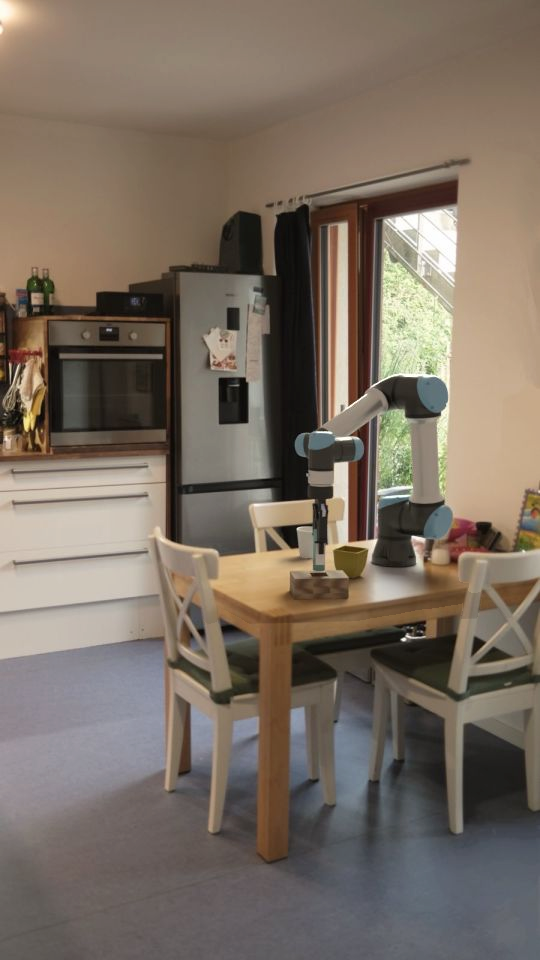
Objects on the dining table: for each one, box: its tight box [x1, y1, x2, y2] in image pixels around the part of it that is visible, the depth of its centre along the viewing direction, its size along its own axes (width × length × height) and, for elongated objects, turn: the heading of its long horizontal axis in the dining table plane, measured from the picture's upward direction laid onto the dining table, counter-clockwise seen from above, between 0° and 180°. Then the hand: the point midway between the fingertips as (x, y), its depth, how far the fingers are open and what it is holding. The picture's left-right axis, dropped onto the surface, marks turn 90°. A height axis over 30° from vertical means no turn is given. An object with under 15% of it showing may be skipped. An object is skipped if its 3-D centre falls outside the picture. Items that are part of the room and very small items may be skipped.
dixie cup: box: [296, 526, 313, 559], centre depth 342 cm, size 8×8×10 cm
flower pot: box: [332, 544, 369, 579], centre depth 313 cm, size 9×9×9 cm
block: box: [289, 569, 350, 600], centre depth 290 cm, size 16×10×6 cm, turn 97°
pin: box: [312, 529, 326, 571], centre depth 289 cm, size 4×4×12 cm
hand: (319, 562), depth 289 cm, fingers closed on pin, 3 cm apart
